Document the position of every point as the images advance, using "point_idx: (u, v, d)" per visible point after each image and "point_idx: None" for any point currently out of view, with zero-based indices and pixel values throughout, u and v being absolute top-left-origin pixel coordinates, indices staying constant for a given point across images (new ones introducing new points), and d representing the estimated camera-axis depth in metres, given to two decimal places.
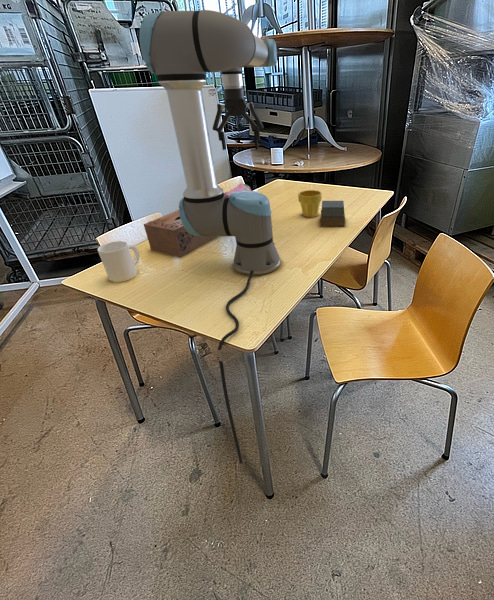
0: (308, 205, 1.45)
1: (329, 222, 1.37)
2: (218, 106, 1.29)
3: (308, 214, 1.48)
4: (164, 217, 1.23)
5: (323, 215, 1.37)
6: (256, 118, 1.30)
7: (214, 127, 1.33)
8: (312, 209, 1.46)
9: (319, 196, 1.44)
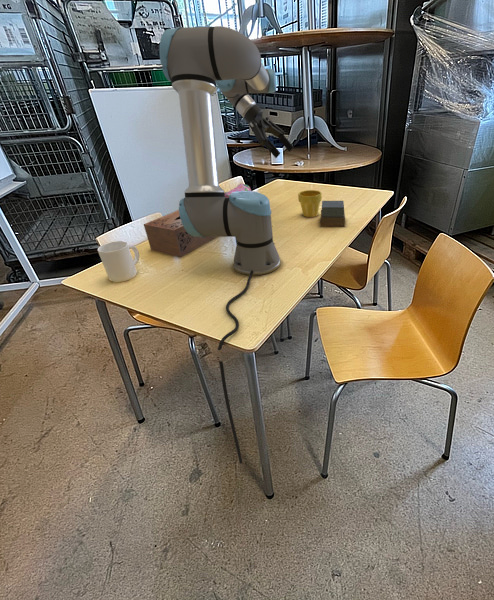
0: (308, 205, 1.45)
1: (329, 222, 1.37)
2: (253, 122, 1.32)
3: (308, 214, 1.48)
4: (164, 217, 1.23)
5: (323, 215, 1.37)
6: (277, 126, 1.44)
7: (263, 137, 1.31)
8: (312, 209, 1.46)
9: (319, 196, 1.44)
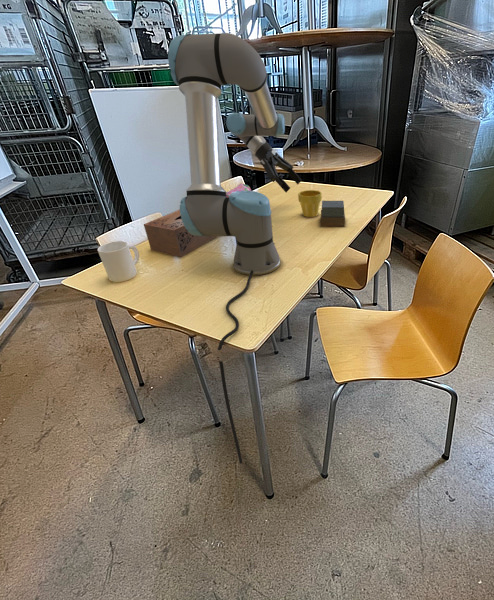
0: (308, 205, 1.45)
1: (329, 222, 1.37)
2: (265, 159, 1.39)
3: (308, 214, 1.48)
4: (164, 217, 1.23)
5: (323, 215, 1.37)
6: (285, 161, 1.51)
7: (274, 174, 1.38)
8: (312, 209, 1.46)
9: (319, 196, 1.44)
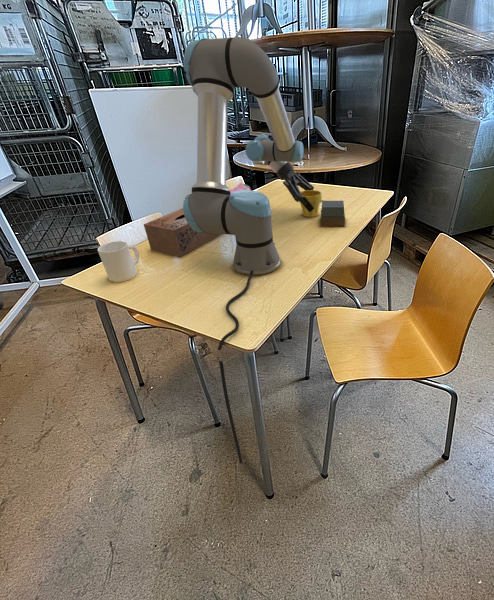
0: None
1: (329, 222, 1.37)
2: (288, 180, 1.40)
3: (308, 214, 1.48)
4: (164, 217, 1.23)
5: (323, 215, 1.37)
6: (306, 181, 1.51)
7: (298, 195, 1.40)
8: None
9: (319, 196, 1.44)
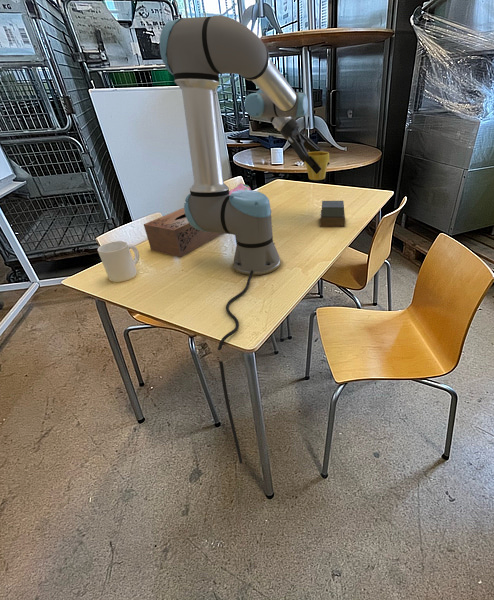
0: None
1: (329, 222, 1.37)
2: (293, 137, 1.28)
3: (314, 177, 1.36)
4: (164, 217, 1.23)
5: (323, 215, 1.37)
6: (312, 142, 1.40)
7: (304, 153, 1.28)
8: (319, 171, 1.34)
9: (327, 156, 1.32)
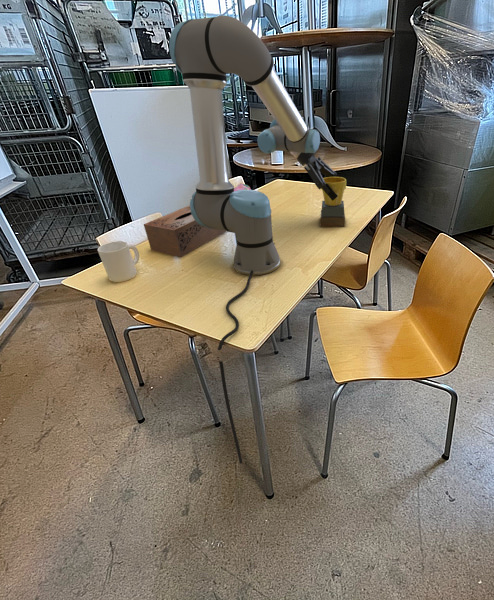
0: None
1: (329, 222, 1.37)
2: (309, 164, 1.27)
3: (331, 203, 1.35)
4: (164, 217, 1.23)
5: (323, 215, 1.37)
6: (328, 166, 1.38)
7: (321, 181, 1.26)
8: (336, 197, 1.33)
9: (344, 183, 1.31)
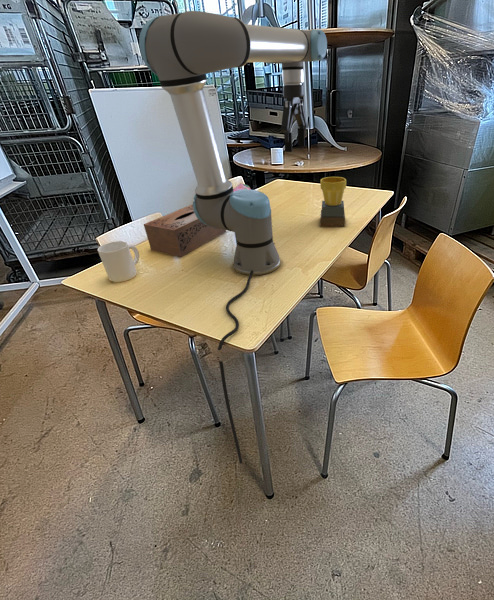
0: (332, 193, 1.31)
1: (329, 222, 1.37)
2: (290, 104, 1.18)
3: (331, 203, 1.35)
4: (164, 217, 1.23)
5: (323, 215, 1.37)
6: (304, 114, 1.31)
7: (288, 127, 1.19)
8: (336, 197, 1.33)
9: (344, 183, 1.31)
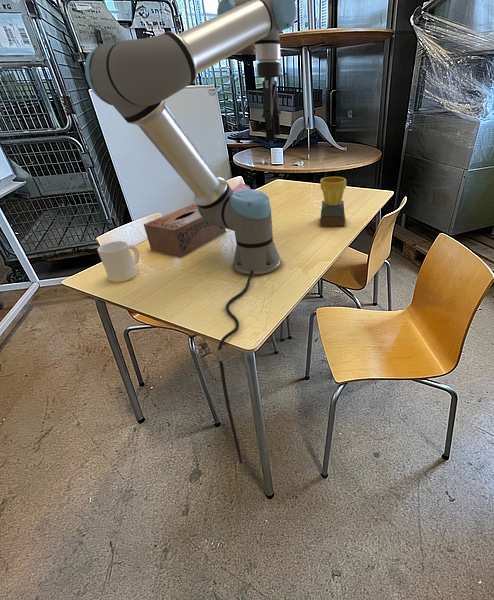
0: (332, 193, 1.31)
1: (329, 222, 1.37)
2: (270, 84, 1.01)
3: (331, 203, 1.35)
4: (164, 217, 1.23)
5: (323, 215, 1.37)
6: None
7: (271, 112, 1.03)
8: (336, 197, 1.33)
9: (344, 183, 1.31)
